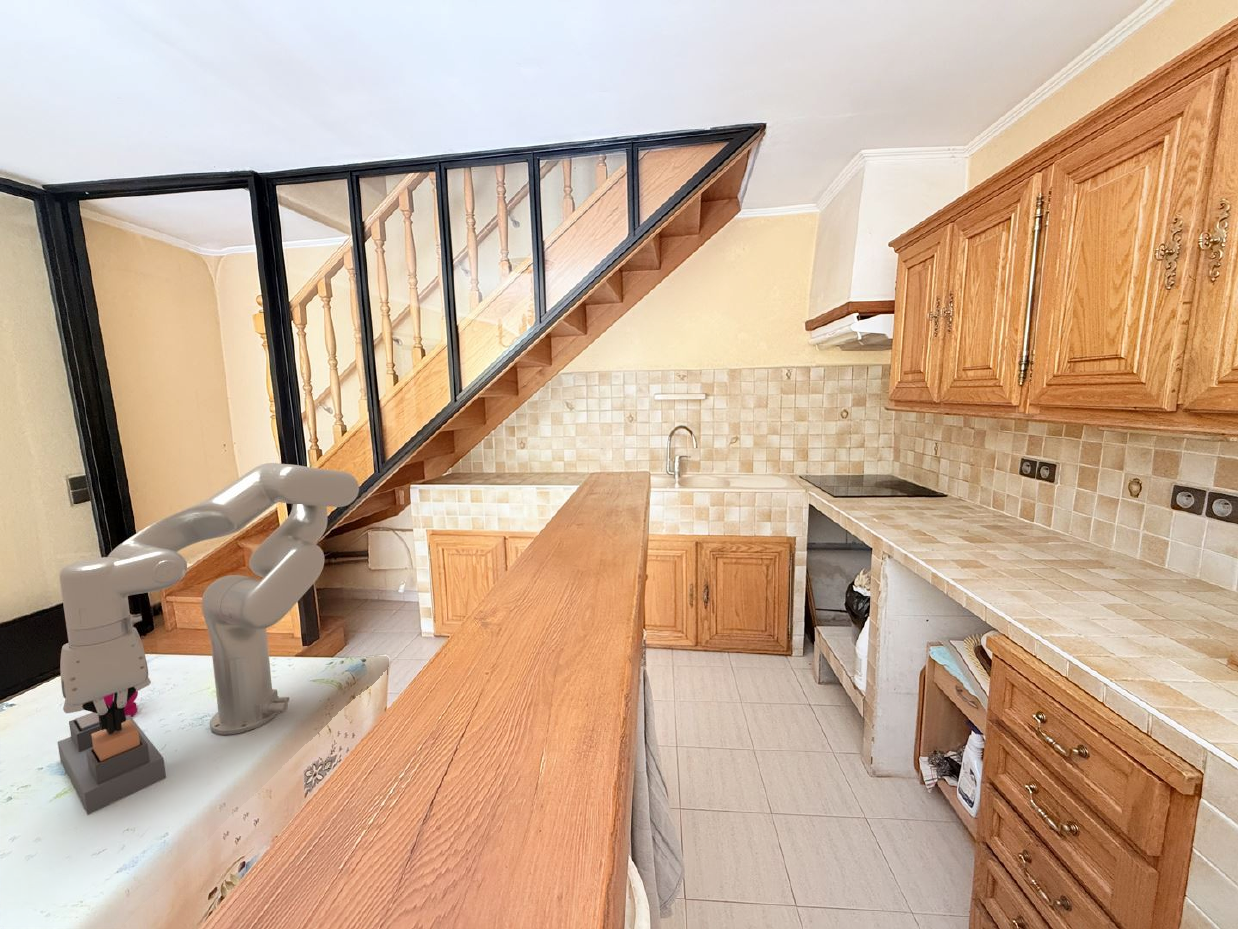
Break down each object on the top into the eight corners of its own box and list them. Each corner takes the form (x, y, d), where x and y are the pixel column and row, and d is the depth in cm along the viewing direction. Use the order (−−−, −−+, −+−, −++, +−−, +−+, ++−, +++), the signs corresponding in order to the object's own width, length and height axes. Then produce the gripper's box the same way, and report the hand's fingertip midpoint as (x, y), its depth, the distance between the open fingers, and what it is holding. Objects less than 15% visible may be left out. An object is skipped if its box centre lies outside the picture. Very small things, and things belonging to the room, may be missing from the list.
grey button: (120, 728, 97) (118, 714, 97) (83, 743, 93) (81, 728, 93) (113, 719, 100) (111, 705, 100) (77, 733, 96) (75, 718, 96)
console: (166, 777, 91) (161, 740, 90) (87, 815, 83) (81, 774, 82) (131, 732, 104) (127, 699, 103) (60, 761, 95) (54, 724, 94)
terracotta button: (140, 744, 89) (138, 729, 89) (100, 761, 85) (98, 745, 85) (132, 734, 92) (130, 719, 92) (93, 749, 88) (91, 734, 87)
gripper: (151, 610, 94) (162, 701, 96) (30, 642, 82) (45, 745, 84) (164, 620, 90) (175, 715, 92) (38, 655, 77) (54, 763, 80)
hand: (113, 729), depth 88 cm, fingers closed
